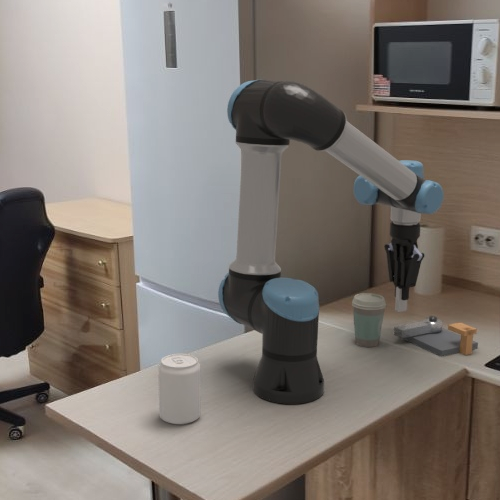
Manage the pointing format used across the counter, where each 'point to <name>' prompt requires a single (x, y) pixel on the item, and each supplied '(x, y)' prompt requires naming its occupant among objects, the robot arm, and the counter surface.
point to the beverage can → (179, 389)
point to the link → (419, 327)
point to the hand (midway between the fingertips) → (400, 310)
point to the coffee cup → (368, 318)
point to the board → (439, 342)
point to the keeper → (464, 336)
